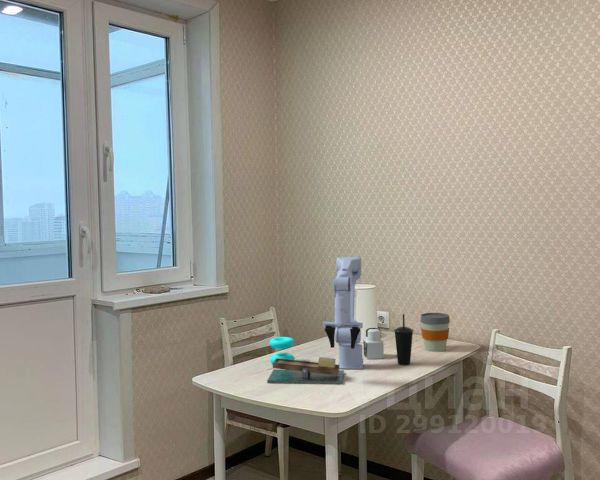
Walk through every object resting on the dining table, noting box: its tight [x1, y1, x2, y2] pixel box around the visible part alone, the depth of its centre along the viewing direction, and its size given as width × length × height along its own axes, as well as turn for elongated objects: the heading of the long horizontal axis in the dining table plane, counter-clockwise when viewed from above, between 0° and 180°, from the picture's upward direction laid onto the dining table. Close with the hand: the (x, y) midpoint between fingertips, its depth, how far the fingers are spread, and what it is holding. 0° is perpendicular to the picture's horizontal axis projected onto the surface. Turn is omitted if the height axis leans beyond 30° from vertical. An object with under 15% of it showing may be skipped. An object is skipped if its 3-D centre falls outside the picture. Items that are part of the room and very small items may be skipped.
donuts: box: [269, 336, 296, 365], centre depth 231 cm, size 10×10×10 cm
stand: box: [266, 360, 345, 385], centre depth 210 cm, size 27×14×5 cm, turn 83°
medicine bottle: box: [362, 327, 385, 360], centre depth 238 cm, size 7×7×12 cm
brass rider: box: [318, 356, 336, 369], centre depth 209 cm, size 6×4×3 cm
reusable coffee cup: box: [420, 312, 451, 353], centre depth 248 cm, size 13×13×15 cm
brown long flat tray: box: [272, 358, 340, 375], centre depth 210 cm, size 24×6×2 cm, turn 83°
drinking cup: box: [393, 313, 414, 366], centre depth 226 cm, size 8×8×20 cm
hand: (342, 348), depth 205 cm, fingers open, 7 cm apart
